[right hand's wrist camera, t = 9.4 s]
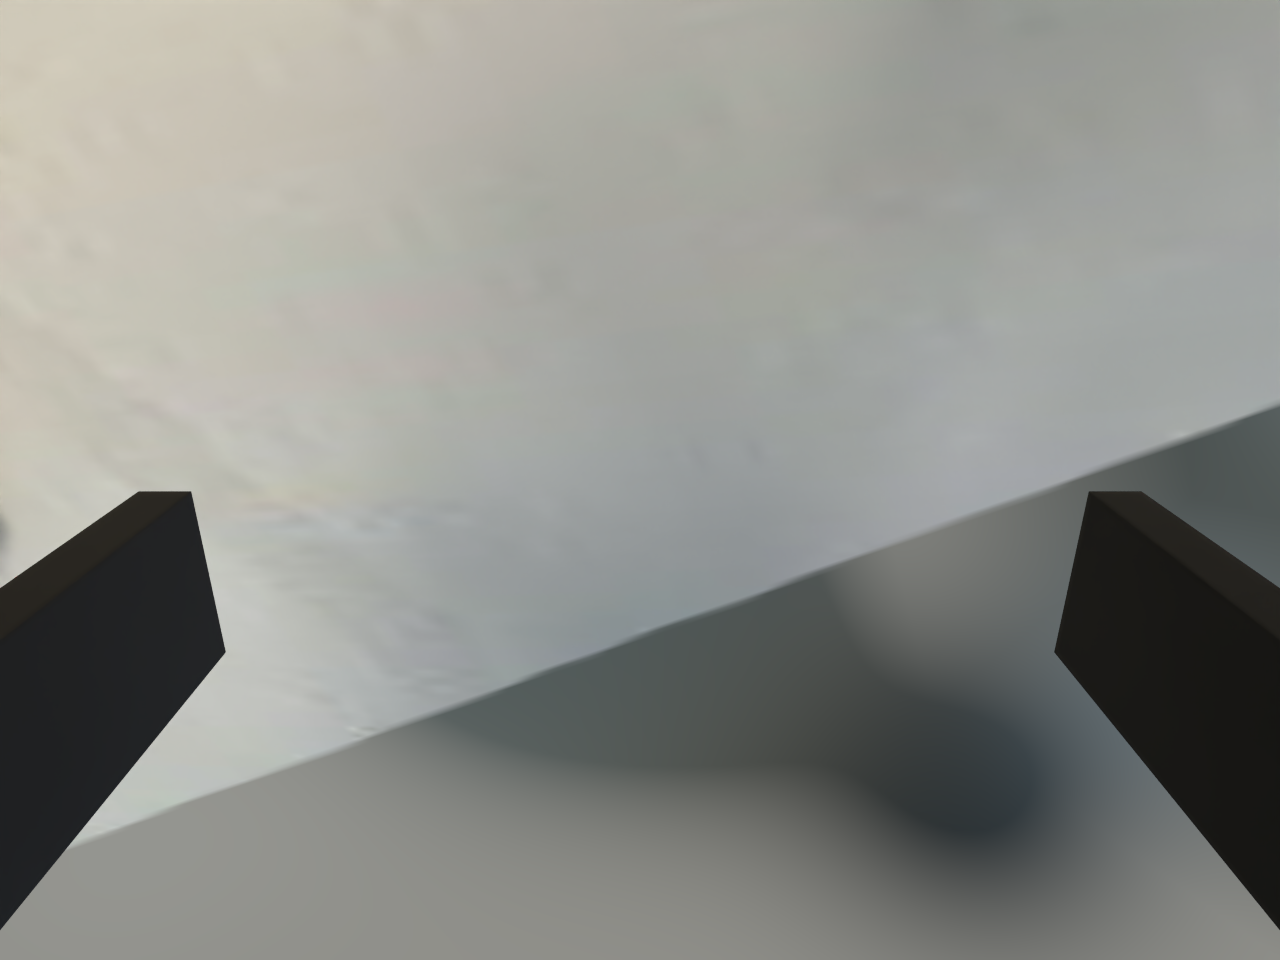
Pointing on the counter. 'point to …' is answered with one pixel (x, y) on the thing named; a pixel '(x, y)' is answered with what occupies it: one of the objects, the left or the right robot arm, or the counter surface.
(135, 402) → the counter surface
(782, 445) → the counter surface
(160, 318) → the counter surface
